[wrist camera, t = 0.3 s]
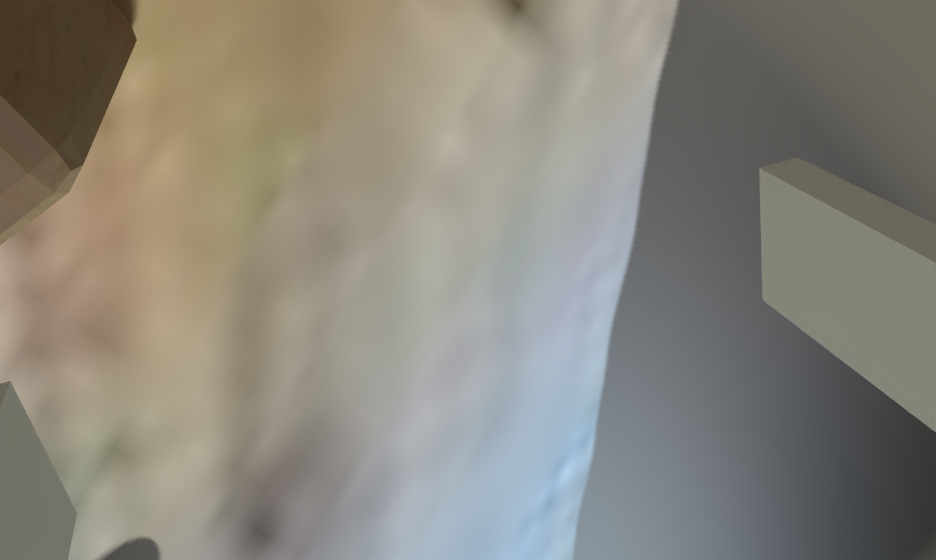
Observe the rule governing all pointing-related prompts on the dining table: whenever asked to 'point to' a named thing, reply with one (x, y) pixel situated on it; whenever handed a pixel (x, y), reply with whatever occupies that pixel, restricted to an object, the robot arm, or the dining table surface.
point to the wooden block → (53, 96)
